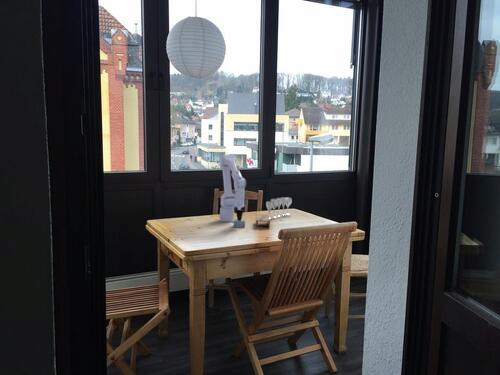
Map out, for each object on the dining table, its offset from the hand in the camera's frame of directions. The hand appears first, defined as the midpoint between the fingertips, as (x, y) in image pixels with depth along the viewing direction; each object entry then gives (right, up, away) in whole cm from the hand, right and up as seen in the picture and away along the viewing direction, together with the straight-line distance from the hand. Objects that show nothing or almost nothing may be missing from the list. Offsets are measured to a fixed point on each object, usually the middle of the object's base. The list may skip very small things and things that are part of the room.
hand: (239, 219), depth 264 cm
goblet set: (+27, -1, +37) cm, 46 cm away
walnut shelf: (+15, -4, +5) cm, 16 cm away
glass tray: (0, -4, +1) cm, 5 cm away
